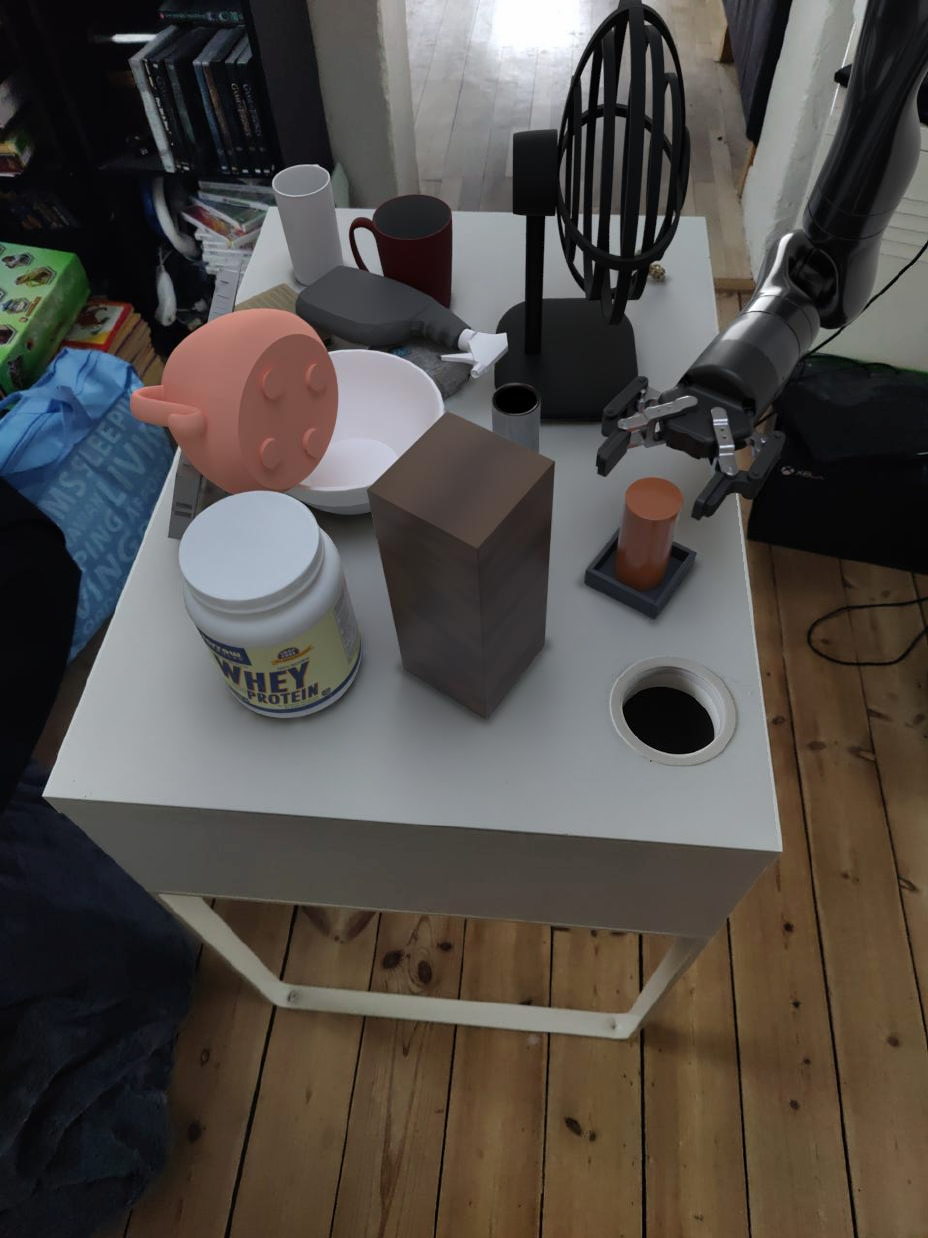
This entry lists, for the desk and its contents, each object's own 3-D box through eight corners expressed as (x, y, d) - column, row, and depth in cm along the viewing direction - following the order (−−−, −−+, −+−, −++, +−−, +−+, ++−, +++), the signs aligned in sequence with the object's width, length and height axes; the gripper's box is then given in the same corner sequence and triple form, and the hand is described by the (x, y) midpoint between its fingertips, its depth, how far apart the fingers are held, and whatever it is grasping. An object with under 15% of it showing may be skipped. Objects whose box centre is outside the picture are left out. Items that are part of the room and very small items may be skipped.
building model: (221, 383, 98) (203, 379, 97) (243, 252, 84) (222, 246, 83) (186, 559, 84) (165, 555, 83) (206, 437, 70) (180, 431, 70)
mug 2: (352, 322, 103) (336, 236, 94) (367, 277, 108) (354, 191, 98) (451, 327, 101) (444, 241, 92) (462, 282, 106) (457, 195, 97)
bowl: (421, 393, 95) (414, 331, 88) (473, 520, 84) (469, 460, 78) (248, 435, 93) (227, 374, 86) (279, 570, 82) (258, 513, 75)
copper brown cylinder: (675, 565, 80) (693, 491, 72) (649, 599, 78) (665, 528, 70) (630, 542, 82) (643, 468, 73) (603, 576, 80) (614, 503, 71)
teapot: (371, 478, 83) (271, 448, 88) (385, 310, 77) (276, 287, 81) (207, 534, 65) (93, 492, 70) (206, 321, 59) (80, 291, 64)
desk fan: (662, 450, 89) (734, 86, 60) (492, 450, 90) (482, 94, 61) (642, 289, 104) (693, -64, 75) (497, 291, 105) (491, -56, 76)
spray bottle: (347, 281, 102) (525, 344, 94) (287, 324, 96) (472, 395, 88) (344, 257, 100) (526, 319, 92) (283, 300, 94) (472, 370, 86)
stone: (442, 310, 98) (487, 358, 93) (442, 344, 101) (485, 392, 96) (319, 350, 93) (359, 403, 88) (324, 384, 97) (363, 437, 92)
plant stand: (544, 644, 76) (555, 460, 57) (486, 719, 72) (477, 548, 53) (463, 598, 79) (447, 410, 60) (403, 668, 76) (366, 489, 57)
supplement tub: (215, 723, 73) (145, 611, 59) (241, 606, 80) (184, 480, 66) (357, 725, 72) (320, 611, 58) (371, 606, 79) (341, 479, 65)
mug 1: (338, 291, 107) (320, 197, 97) (287, 287, 108) (264, 194, 98) (358, 244, 112) (343, 151, 102) (309, 240, 113) (290, 148, 103)
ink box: (292, 306, 105) (232, 336, 103) (284, 278, 102) (222, 308, 100) (336, 346, 100) (274, 378, 98) (330, 318, 97) (266, 351, 95)
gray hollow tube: (487, 466, 89) (485, 389, 80) (528, 455, 89) (530, 377, 81) (502, 497, 86) (501, 420, 78) (544, 485, 87) (548, 408, 78)
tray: (693, 565, 80) (697, 551, 79) (654, 619, 77) (657, 606, 76) (624, 531, 83) (626, 518, 81) (584, 582, 80) (585, 569, 78)
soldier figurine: (644, 257, 101) (672, 275, 103) (643, 250, 102) (670, 268, 104) (632, 270, 103) (660, 288, 105) (631, 264, 104) (658, 281, 106)
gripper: (672, 311, 75) (573, 420, 68) (829, 369, 70) (741, 494, 63) (660, 380, 81) (569, 486, 74) (804, 438, 76) (720, 558, 69)
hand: (648, 490), depth 68 cm, fingers open, 8 cm apart
